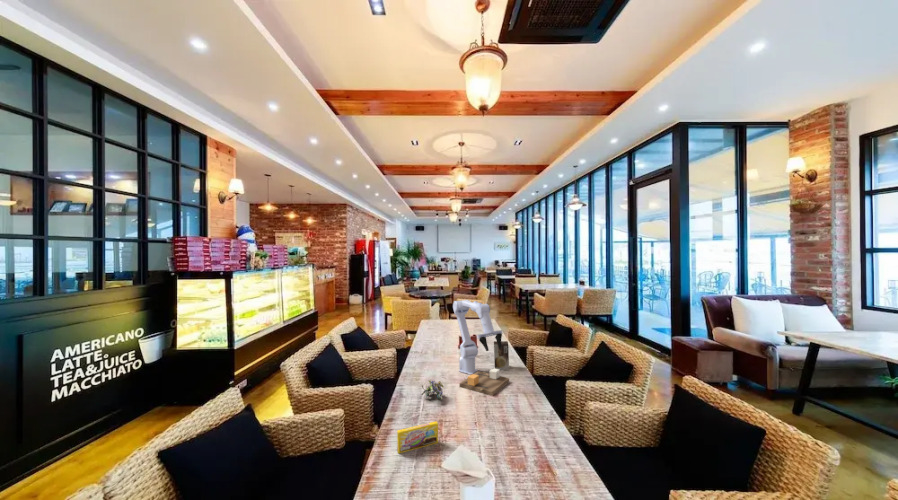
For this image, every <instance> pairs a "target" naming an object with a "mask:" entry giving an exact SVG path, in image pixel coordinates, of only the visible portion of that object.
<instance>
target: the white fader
mask: <svg viewBox="0 0 898 500" xmlns="http://www.w3.org/2000/svg"><path fill="white" fill-rule="evenodd" d="M489 374H490V378H492V379H497V378H499V377H500V376H501V369H495V367H494V368H491V369H490V370H489Z"/></svg>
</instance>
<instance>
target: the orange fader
mask: <svg viewBox="0 0 898 500" xmlns="http://www.w3.org/2000/svg"><path fill="white" fill-rule="evenodd" d="M467 378H468V385H472V386H475V385H476V384H478V383H479V375H475V373H473V374H469V376H467Z"/></svg>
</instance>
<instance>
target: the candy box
mask: <svg viewBox="0 0 898 500" xmlns="http://www.w3.org/2000/svg"><path fill="white" fill-rule="evenodd" d="M396 439H397V440H396V444H397V445H396V451H397V454H398V455H399V454H403V453H406V452H410V451H413V450H417V449H421V448H424V447H429V446H431V445H432V446H433V445H436V444H439V422H438V421H431V422H427V423H422V424H419V425H413V426H410V427H406V428H402V429H397V430H396Z"/></svg>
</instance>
